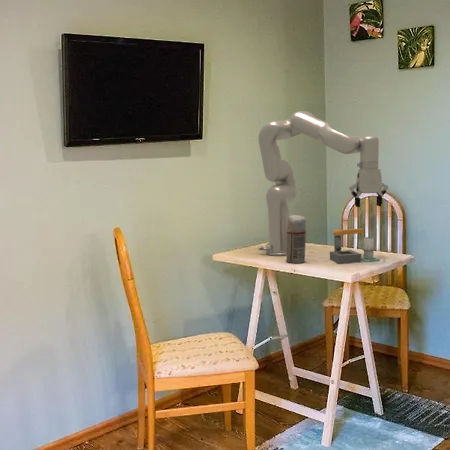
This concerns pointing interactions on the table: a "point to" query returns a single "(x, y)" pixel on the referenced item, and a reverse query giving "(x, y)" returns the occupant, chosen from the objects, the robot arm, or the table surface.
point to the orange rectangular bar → (348, 231)
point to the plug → (368, 248)
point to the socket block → (345, 256)
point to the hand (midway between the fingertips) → (368, 206)
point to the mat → (369, 260)
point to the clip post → (337, 243)
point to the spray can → (296, 239)
